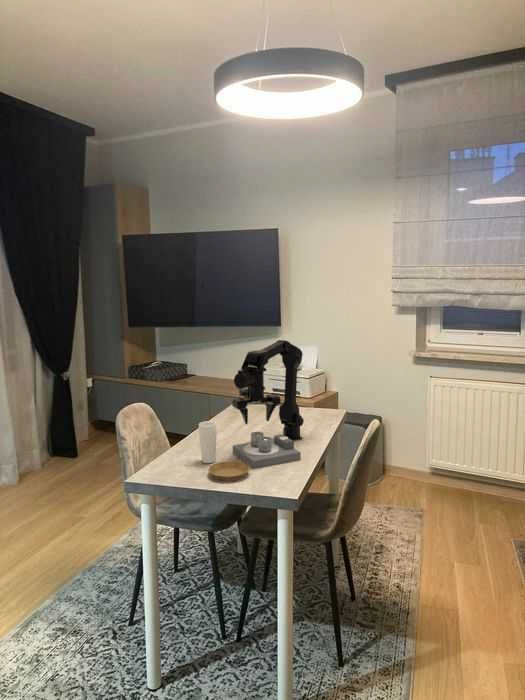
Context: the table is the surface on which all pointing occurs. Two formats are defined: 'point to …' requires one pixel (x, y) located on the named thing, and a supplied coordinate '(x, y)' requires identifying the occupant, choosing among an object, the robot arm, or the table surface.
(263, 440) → the cylinder
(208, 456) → the drinking glass
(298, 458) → the kitchen scale
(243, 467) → the plant saucer
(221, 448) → the table surface
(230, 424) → the table surface
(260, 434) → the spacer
